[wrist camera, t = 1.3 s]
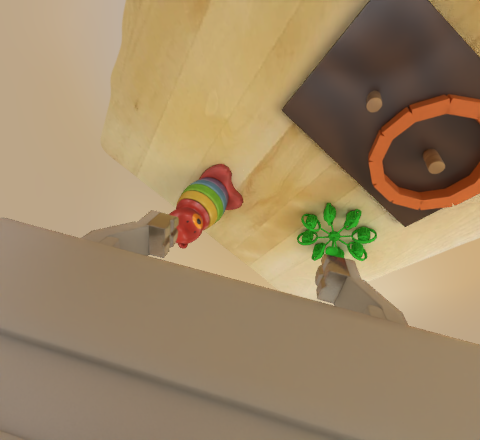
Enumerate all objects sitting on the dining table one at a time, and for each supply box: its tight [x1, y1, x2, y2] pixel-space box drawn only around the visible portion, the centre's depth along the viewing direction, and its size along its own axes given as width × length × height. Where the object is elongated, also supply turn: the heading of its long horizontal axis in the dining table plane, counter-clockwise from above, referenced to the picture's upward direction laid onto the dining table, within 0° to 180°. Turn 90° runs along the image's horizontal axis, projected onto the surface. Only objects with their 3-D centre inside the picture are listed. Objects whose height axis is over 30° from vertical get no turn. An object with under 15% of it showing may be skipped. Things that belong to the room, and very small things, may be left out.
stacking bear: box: [169, 164, 243, 248], centre depth 51 cm, size 11×10×18 cm
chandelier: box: [297, 203, 377, 261], centre depth 49 cm, size 15×15×7 cm
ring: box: [368, 94, 480, 210], centre depth 36 cm, size 16×16×3 cm
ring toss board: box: [282, 0, 480, 227], centre depth 35 cm, size 20×30×6 cm, turn 54°
